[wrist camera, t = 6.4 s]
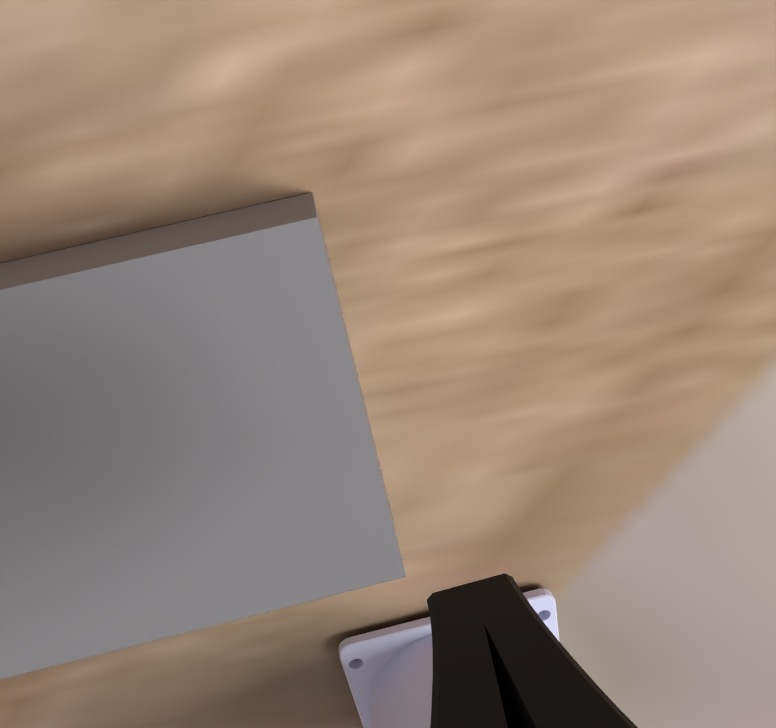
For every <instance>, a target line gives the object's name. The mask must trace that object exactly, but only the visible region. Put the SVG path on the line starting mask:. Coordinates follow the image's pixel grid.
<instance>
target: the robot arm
mask: <svg viewBox="0 0 776 728" xmlns="http://www.w3.org/2000/svg"><path fill="white" fill-rule="evenodd" d="M427 603H428V608H429V613H430V617H426V618H422V619H418V620H415V621H411V622H407V623H403V624H399V625H395V626H391V627H387V628H383V629H379V630H376V631H372V632H368V633H364V634H360V635H356V636H352V637H349V638H346V639H344V640H343V641H342V642H341V643H340V645H339V657H340V660H341V663H342V666H343V669H344V672H345V675H346V678H347V681H348V684H349V687H350V690H351V693H352V696H353V698H354V701H355V704H356V707H357V710H358V713H359V716H360V719H361V722H362V725H363V728H637V726H635V725H634V723H633V722H632V721H631V720H630V719H629V718H628V717H627V716H626V715H625V714H624V713H623V712H622V711H621V710H620V709H619V708H618V707H617V706H616V705H615V704H614V703H613V702H612V701H611V700H610V699H609V698H608V696H607V695H606V694H605V693H604V692H603V691H602V690H601V689H600V688H599V687H598V686H597V685H596V683H595V682H594V681H593V680H592V679H591V678H590V677H589V676H588V674H587V673H586V672H585V671H584V670H583V669H582V668H581V667H580V665H579V664H578V663H577V662H576V661H575V660H574V659H573V658H572V656H571V655H570V654H569V653H568V652H567V650H566V649H565V648H564V647H563V646H562V644H561V643H560V642H559V634H558V624H557V613H556V603H555V599H554V597H553V595H552V593H551V592H550V591H549V590H548V589H543V588H542V589H535V590H532V591H528V592H524V593H522V592H521V590H520V589H519V587H518V585H517V584H516V582H515V581H514V579H513V577H511V576H509V575H507V574H501V575H498V576H494V577H490V578H487V579H483V580H479V581H476V582H472V583H468V584H465V585H461V586H457V587H454V588H450V589H446V590H442V591H439V592H435V593H432V594H431V596H430V597H429V598H428V599H427ZM543 610H544V611H543ZM354 659H355V660H354Z"/></svg>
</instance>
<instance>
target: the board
mask: <svg viewBox="0 0 776 728" xmlns="http://www.w3.org/2000/svg"><path fill="white" fill-rule="evenodd" d="M403 577H406V576H405V572H404V567H403V563H402V558H401V554H400V550H399V545H398V541H397V536H396V532H395V528H394V523H393V519H392V515H391V511H390V507H389V503H388V499H387V495H386V491H385V486H384V482H383V478H382V474H381V470H380V466H379V462H378V458H377V454H376V450H375V446H374V442H373V438H372V434H371V429H370V425H369V421H368V417H367V413H366V409H365V405H364V401H363V397H362V393H361V389H360V385H359V381H358V377H357V372H356V368H355V364H354V360H353V356H352V352H351V348H350V344H349V340H348V336H347V332H346V328H345V324H344V320H343V316H342V311H341V307H340V303H339V299H338V295H337V291H336V287H335V283H334V279H333V275H332V271H331V267H330V263H329V259H328V254H327V250H326V246H325V242H324V238H323V234H322V230H321V226H320V222H319V218H318V214H317V210H316V206H315V202H314V197H313V193H312V192H311V193H307V194H302V195H298V196H294V197H289V198H285V199H280V200H276V201H272V202H267V203H263V204H258V205H254V206H250V207H245V208H241V209H237V210H232V211H228V212H223V213H219V214H215V215H210V216H206V217H202V218H197V219H193V220H188V221H184V222H180V223H175V224H171V225H166V226H162V227H158V228H153V229H149V230H145V231H140V232H136V233H131V234H127V235H123V236H118V237H114V238H110V239H105V240H101V241H96V242H92V243H88V244H83V245H79V246H74V247H70V248H66V249H61V250H57V251H53V252H48V253H44V254H39V255H35V256H31V257H26V258H22V259H17V260H13V261H9V262H4V263H0V680H1V679H5V678H9V677H13V676H17V675H20V674H24V673H28V672H32V671H36V670H40V669H44V668H48V667H52V666H56V665H60V664H64V663H68V662H72V661H76V660H80V659H84V658H88V657H91V656H95V655H99V654H103V653H107V652H111V651H115V650H119V649H123V648H127V647H131V646H135V645H139V644H143V643H147V642H151V641H155V640H159V639H162V638H166V637H170V636H174V635H178V634H182V633H186V632H190V631H194V630H198V629H202V628H206V627H210V626H214V625H218V624H222V623H226V622H230V621H233V620H237V619H241V618H245V617H249V616H253V615H257V614H261V613H265V612H269V611H273V610H277V609H281V608H285V607H289V606H293V605H297V604H301V603H304V602H308V601H312V600H316V599H320V598H324V597H328V596H332V595H336V594H340V593H344V592H348V591H352V590H356V589H360V588H364V587H368V586H372V585H375V584H379V583H383V582H387V581H391V580H395V579H399V578H403Z"/></svg>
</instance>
